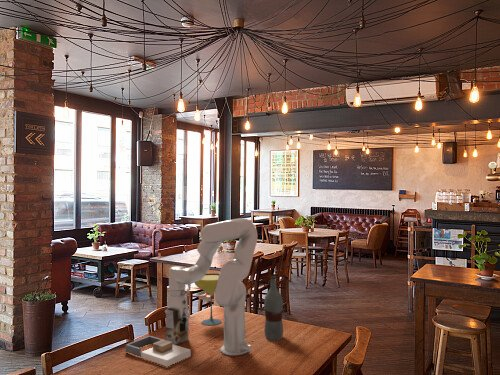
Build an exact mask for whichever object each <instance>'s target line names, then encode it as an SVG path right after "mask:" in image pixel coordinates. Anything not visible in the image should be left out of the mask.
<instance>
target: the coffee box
mask: <svg viewBox="0 0 500 375" xmlns="http://www.w3.org/2000/svg"><path fill="white" fill-rule="evenodd" d="M165 310H166V313H165V340H166V341H170V342H172V344H173V345H179V344H182V343H184V342H187V341H189V319H188V320H187V322H186V330H185V331H183V332H180V323H181V321H180V318H179V315H178V310H175V309H170V308H168V309H167V308H165ZM183 316H184V314H183ZM185 317H186V316H185ZM182 319H183V318H182Z"/></svg>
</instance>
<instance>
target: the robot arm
mask: <svg viewBox="0 0 500 375" xmlns="http://www.w3.org/2000/svg"><path fill="white" fill-rule="evenodd" d="M200 238H201V241H200V243H199V244H198V245H197V248H196V249H197V253H198V254H199V257H198V259H197V260H196V262H195V263H194V265H192V266H190V267H187V268H186V267H184V266H179V265H178V266H177V265H176V266H170V268H169V269H168V296H167V302H166V303H167V306H166V309H168V308H170V309H175V310H178V315H179V318H180V321H181V323H180V332H183V331H185V330H186V322H187V320H188V321H189V319H190V318H191V315H190V314H189V304H188V298H187V295H186V293H187V292H186V286H188V285H192V284H195V282H197V281H199V280H201V279H202V278H203V277H204V276H205V275H206V274H208V271H209V270H210V269H211V267H212V263H213V258H214V256H215V254H216V252H217V251H218V250H219V248H220V246H222V243H223V242H226V241H231V240H236V239H239V240H238V242H237V244H236V246H235V250H234V253H233V255H232V256H233V257H232V259H231V260H229V261H227V262H225V263H224V264H223V265H222V267H220V268H221V269H220V271H219V273H218V274H219V278H218V282H217V285H216V289H215V293H214V300H215V302H216V303H217V305H218V306H219V307H223V345H222V346H220V352H221V353H222V354H223V355H225V356H231V357H233V356H234V357H235V356H241V355H242V356H243V355H245V354H246V353H248V352H251V350H252V345H251V344H248V341H247V340H246V331H245V330H246V327H245V326H246V325H245V324H246V319H245V318H246V317H245V316H246V312H245V311H246V310H245V309H246V299H247V288H246V285H245V283H244V282H243V281H242V280H244V279H246V278H247V277H248V276H249V274H250V270H251V266H252V262H253V259H254V258H253V257H254V254H255V251H256V248H257V243H258V230H257V228H256V226H255V224H254V222H252V221H251V220H250V219H248V218H243V217H239V218H233V219H229V220H224V221H219V222H215V223H209V224H206V225H204V226H203V227H202V229H201V231H200ZM166 309H165V310H164V312H165V314H166ZM183 314H184V316H183ZM185 316H186V317H185ZM182 318H183V319H182Z"/></svg>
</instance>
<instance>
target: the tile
mask: <svg viewBox="0 0 500 375" xmlns="http://www.w3.org/2000/svg"><path fill="white" fill-rule="evenodd" d="M171 349H173V344H172V342H170V341H166V339H163V340H160V341H158V342H155V343H153V351H156V352H159V353H165V352H167V351H169V350H171Z"/></svg>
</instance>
